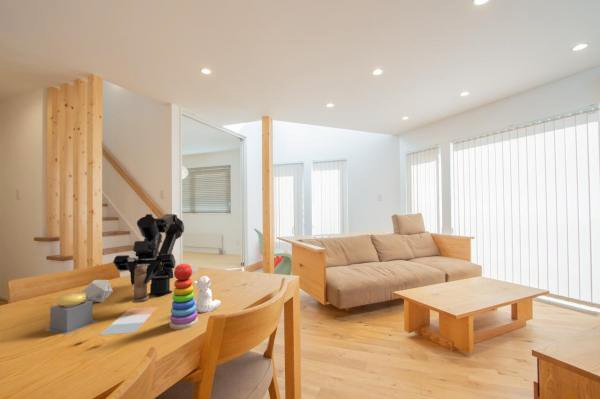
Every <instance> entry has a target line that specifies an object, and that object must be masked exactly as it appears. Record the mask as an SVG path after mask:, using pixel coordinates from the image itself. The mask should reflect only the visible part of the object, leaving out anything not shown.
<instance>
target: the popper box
mask: <svg viewBox="0 0 600 399" xmlns="http://www.w3.org/2000/svg"><path fill="white" fill-rule="evenodd" d="M93 304H94V303H93V302H92V301H87V300H85V301H84V302H82V303H80V305H77V306H74V307H70V308H66V307H64V306H59V305H58V304H56V305H54V306H50V308H49V312H50V313H49V327H48V328H46V329H44V331H45V332H52V333H54V334H55V333H56V334H61V335H67V334H71V333H73V332H76V331H78V330H80V329H83V328H85V327H88V326H90V325H93V324H95V323H97V322H99V320H93V316H94V315H93V312H94V310H93V308H94V307H93Z"/></svg>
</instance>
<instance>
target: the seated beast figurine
mask: <svg viewBox="0 0 600 399" xmlns="http://www.w3.org/2000/svg"><path fill="white" fill-rule="evenodd" d="M193 283H194V285H195V286H197V289H199V291H198V294H197V300H195V306H196V311H197V313H207V312H208V313H211V312H212V311H214V310H216V309H217V308H219V307H220V306H221V303H222V302H221V300H219V299H214V300H213V291H212V290H211V289H210V287H211V285H212V278H211V279H210V278H209V277H208V276H207V275H204V276H201V277H199V278H198V279H197V280H194V281H193Z"/></svg>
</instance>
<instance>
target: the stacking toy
mask: <svg viewBox="0 0 600 399" xmlns="http://www.w3.org/2000/svg"><path fill="white" fill-rule="evenodd" d="M192 274H193V269H192V266H191V265H190V264H188V263H179V265H177V266H175V268H174V270H173V277H174V278H175V279H176V280H175V281H174V282H173V286H174V289H173V293H174V294H173V295H172V300H173V301H172V302H171V306H172V307H171V309H170V313H171V316H170V322H169V324H168V326H169V327H170V328H171V329H174V330H183V329H188V328H189V329H190V328H192V327H194V326H195V325H197V324H198V323H199V318H198V313H199V312H197V311H196V306H195V302H196V299H195V298H194V297H195V293H194V286H193V280H192V279H191V276H192Z"/></svg>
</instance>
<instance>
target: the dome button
mask: <svg viewBox="0 0 600 399" xmlns="http://www.w3.org/2000/svg"><path fill="white" fill-rule="evenodd" d="M84 301H87V299H86V293H83V292H72V293H67V294H64V295H59V296H58V298H57V305H59V306H64V307H66V308H70V307H74V306H77V305H80V303H82V302H84Z"/></svg>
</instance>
